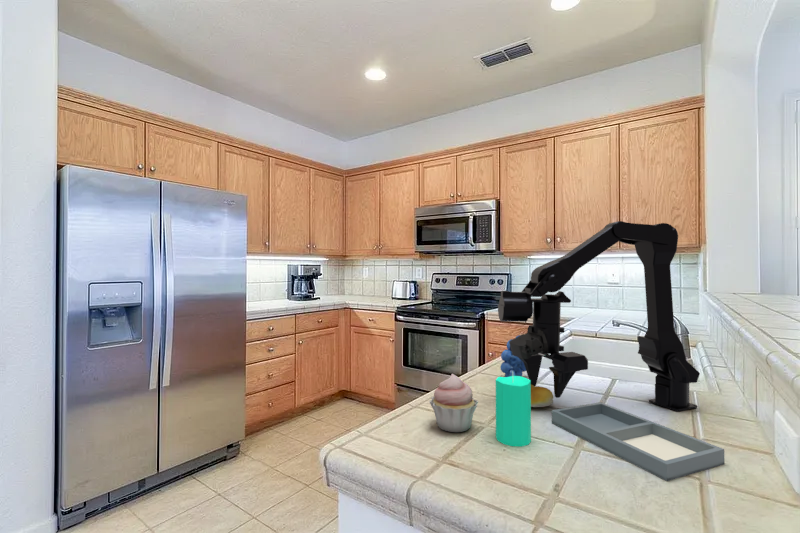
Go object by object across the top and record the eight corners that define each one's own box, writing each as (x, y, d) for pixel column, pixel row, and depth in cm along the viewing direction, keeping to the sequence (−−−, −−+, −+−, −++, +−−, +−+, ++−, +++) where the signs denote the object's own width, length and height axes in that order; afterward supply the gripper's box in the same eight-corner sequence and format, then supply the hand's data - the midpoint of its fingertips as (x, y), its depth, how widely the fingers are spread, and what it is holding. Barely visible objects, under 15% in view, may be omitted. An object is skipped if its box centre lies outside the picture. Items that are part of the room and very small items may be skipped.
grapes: (518, 372, 112) (518, 331, 112) (537, 378, 106) (537, 335, 106) (489, 379, 105) (489, 335, 105) (508, 385, 100) (508, 339, 100)
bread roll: (541, 410, 80) (540, 391, 80) (505, 402, 86) (504, 384, 87) (562, 402, 85) (560, 383, 85) (526, 394, 92) (525, 377, 92)
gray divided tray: (600, 414, 80) (600, 402, 80) (724, 465, 59) (724, 449, 59) (551, 423, 75) (551, 410, 75) (667, 482, 54) (667, 464, 54)
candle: (531, 434, 70) (530, 368, 70) (530, 448, 64) (530, 377, 64) (497, 430, 72) (496, 365, 72) (494, 443, 66) (493, 374, 66)
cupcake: (457, 413, 80) (457, 365, 80) (488, 429, 72) (488, 376, 72) (419, 422, 76) (419, 371, 76) (448, 440, 67) (448, 383, 68)
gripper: (491, 317, 92) (490, 382, 92) (546, 331, 74) (544, 411, 74) (530, 315, 95) (528, 377, 96) (590, 328, 78) (589, 405, 78)
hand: (544, 391), depth 86 cm, fingers open, 7 cm apart
